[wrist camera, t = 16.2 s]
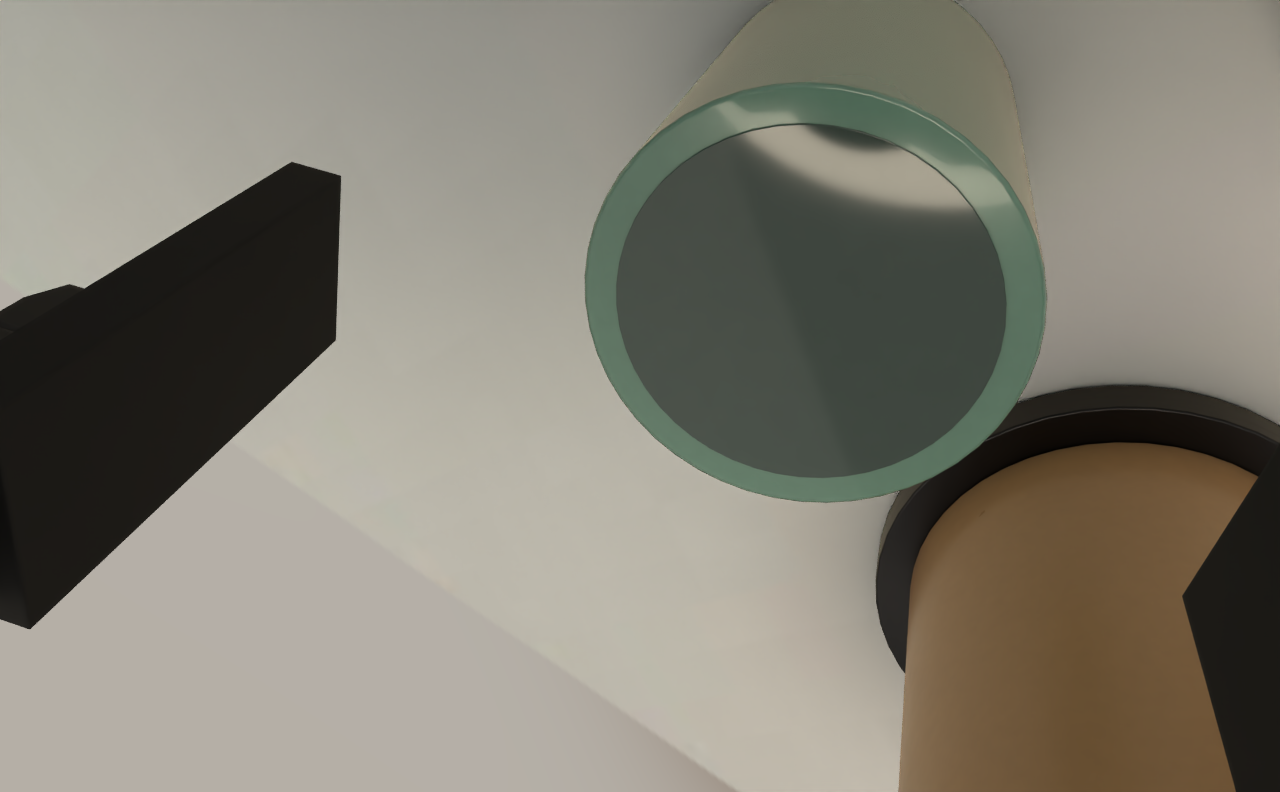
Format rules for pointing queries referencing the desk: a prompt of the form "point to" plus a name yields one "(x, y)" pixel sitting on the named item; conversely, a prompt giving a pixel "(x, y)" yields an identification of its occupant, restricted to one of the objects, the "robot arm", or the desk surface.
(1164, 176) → the desk surface
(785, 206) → the tumbler
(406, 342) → the desk surface
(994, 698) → the tan and grey cylinder
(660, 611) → the desk surface
